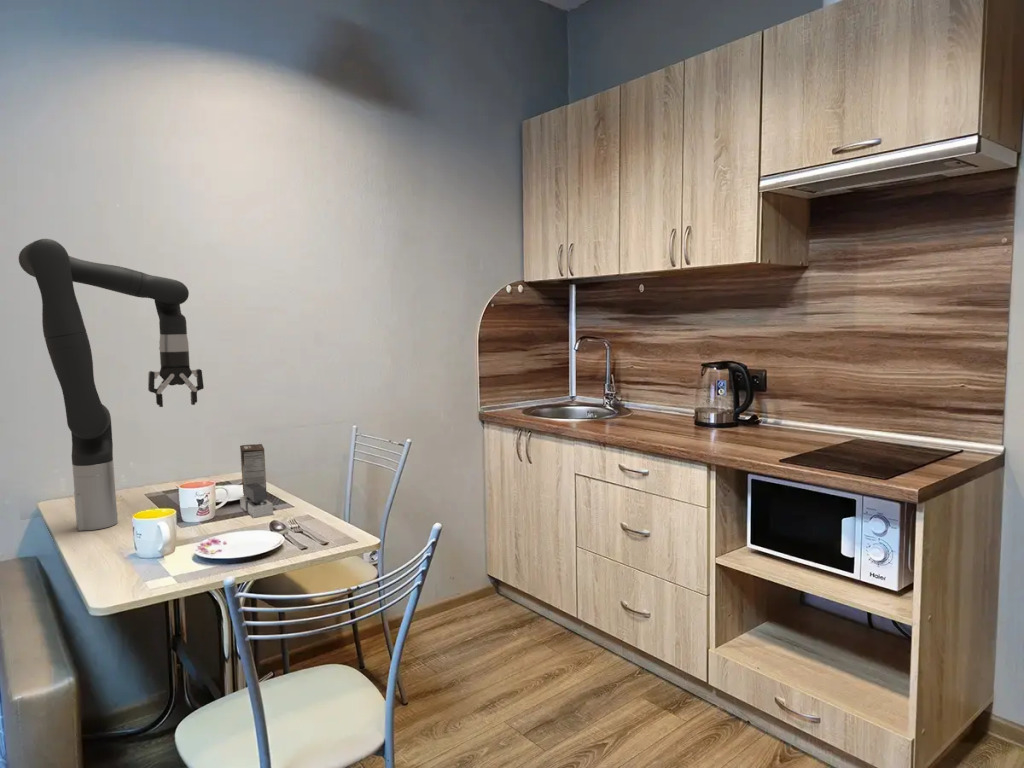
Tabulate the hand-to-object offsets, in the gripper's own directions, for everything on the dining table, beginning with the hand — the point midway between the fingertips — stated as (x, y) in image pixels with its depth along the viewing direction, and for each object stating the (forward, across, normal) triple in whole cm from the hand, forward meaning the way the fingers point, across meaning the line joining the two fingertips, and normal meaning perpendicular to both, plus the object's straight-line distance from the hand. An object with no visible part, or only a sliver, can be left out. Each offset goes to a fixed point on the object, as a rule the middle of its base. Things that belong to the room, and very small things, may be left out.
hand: (177, 405), depth 196 cm
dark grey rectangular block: (+29, +15, -21) cm, 39 cm away
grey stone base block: (+29, +16, -21) cm, 39 cm away
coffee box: (+30, +19, -7) cm, 36 cm away
